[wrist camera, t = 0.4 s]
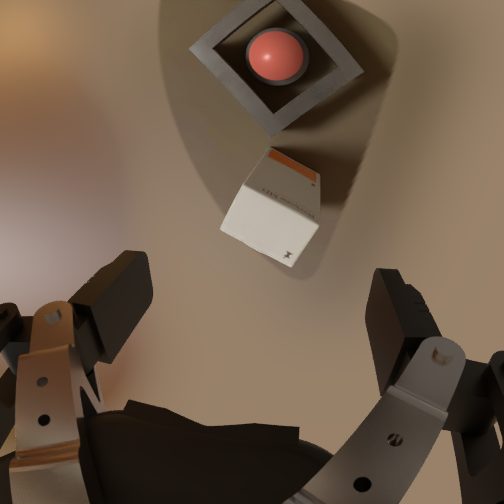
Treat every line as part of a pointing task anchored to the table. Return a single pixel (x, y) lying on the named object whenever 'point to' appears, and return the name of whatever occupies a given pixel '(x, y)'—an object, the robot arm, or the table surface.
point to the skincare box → (276, 208)
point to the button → (277, 56)
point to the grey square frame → (245, 93)
